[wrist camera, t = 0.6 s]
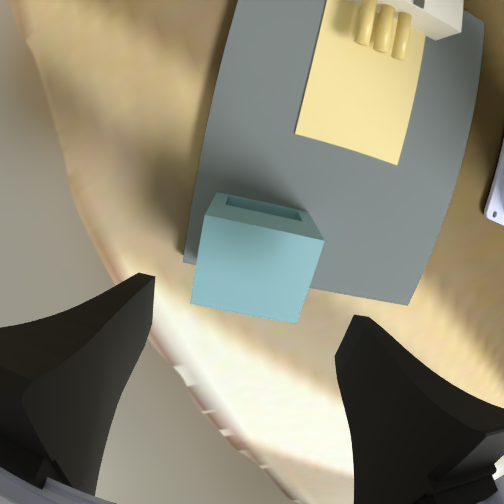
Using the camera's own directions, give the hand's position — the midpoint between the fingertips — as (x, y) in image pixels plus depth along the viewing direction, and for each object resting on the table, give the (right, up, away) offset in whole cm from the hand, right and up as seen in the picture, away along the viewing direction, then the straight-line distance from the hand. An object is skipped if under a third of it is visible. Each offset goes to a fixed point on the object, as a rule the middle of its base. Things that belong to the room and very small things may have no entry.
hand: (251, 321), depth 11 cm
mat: (+6, +10, +6) cm, 13 cm away
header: (+7, +16, +2) cm, 18 cm away
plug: (0, +3, +8) cm, 9 cm away
